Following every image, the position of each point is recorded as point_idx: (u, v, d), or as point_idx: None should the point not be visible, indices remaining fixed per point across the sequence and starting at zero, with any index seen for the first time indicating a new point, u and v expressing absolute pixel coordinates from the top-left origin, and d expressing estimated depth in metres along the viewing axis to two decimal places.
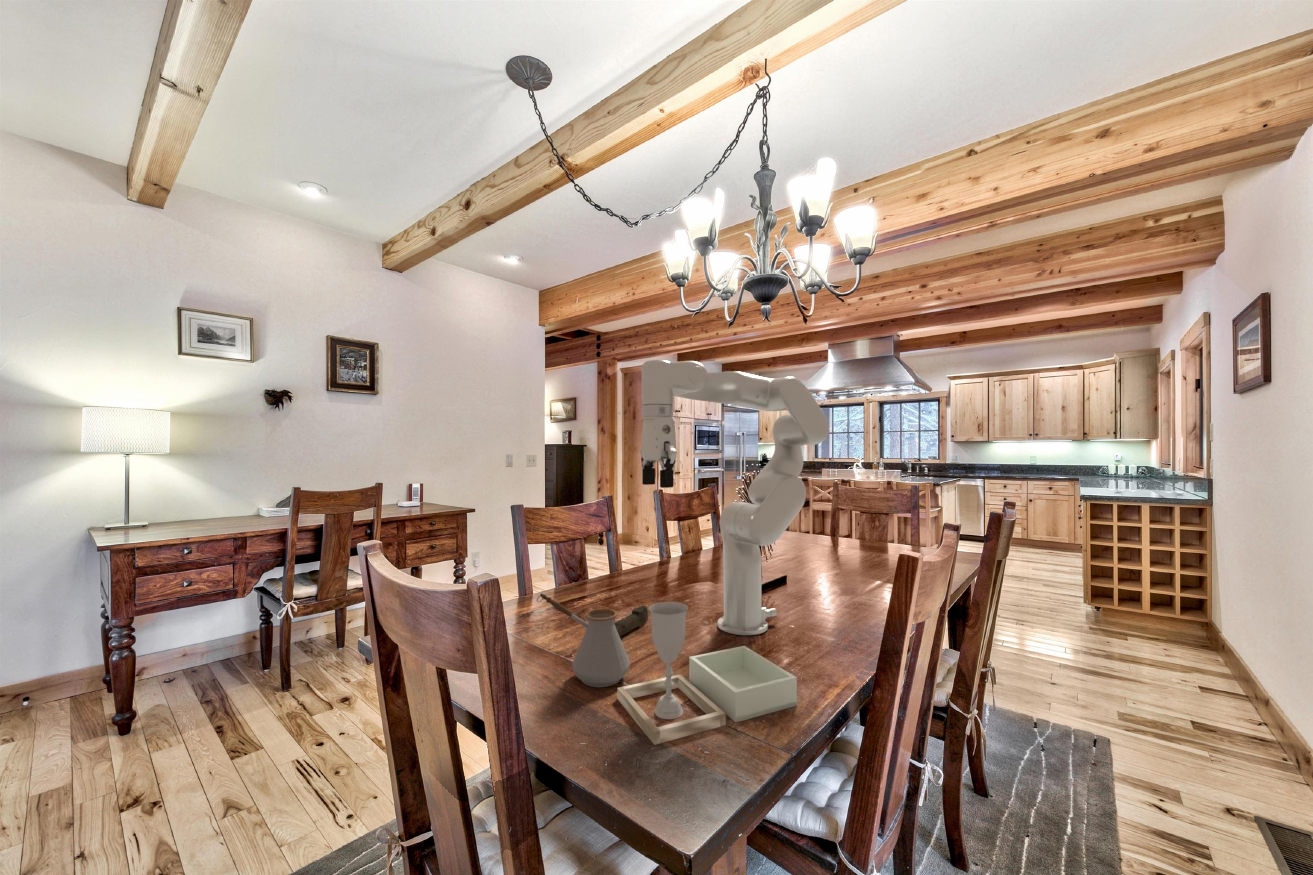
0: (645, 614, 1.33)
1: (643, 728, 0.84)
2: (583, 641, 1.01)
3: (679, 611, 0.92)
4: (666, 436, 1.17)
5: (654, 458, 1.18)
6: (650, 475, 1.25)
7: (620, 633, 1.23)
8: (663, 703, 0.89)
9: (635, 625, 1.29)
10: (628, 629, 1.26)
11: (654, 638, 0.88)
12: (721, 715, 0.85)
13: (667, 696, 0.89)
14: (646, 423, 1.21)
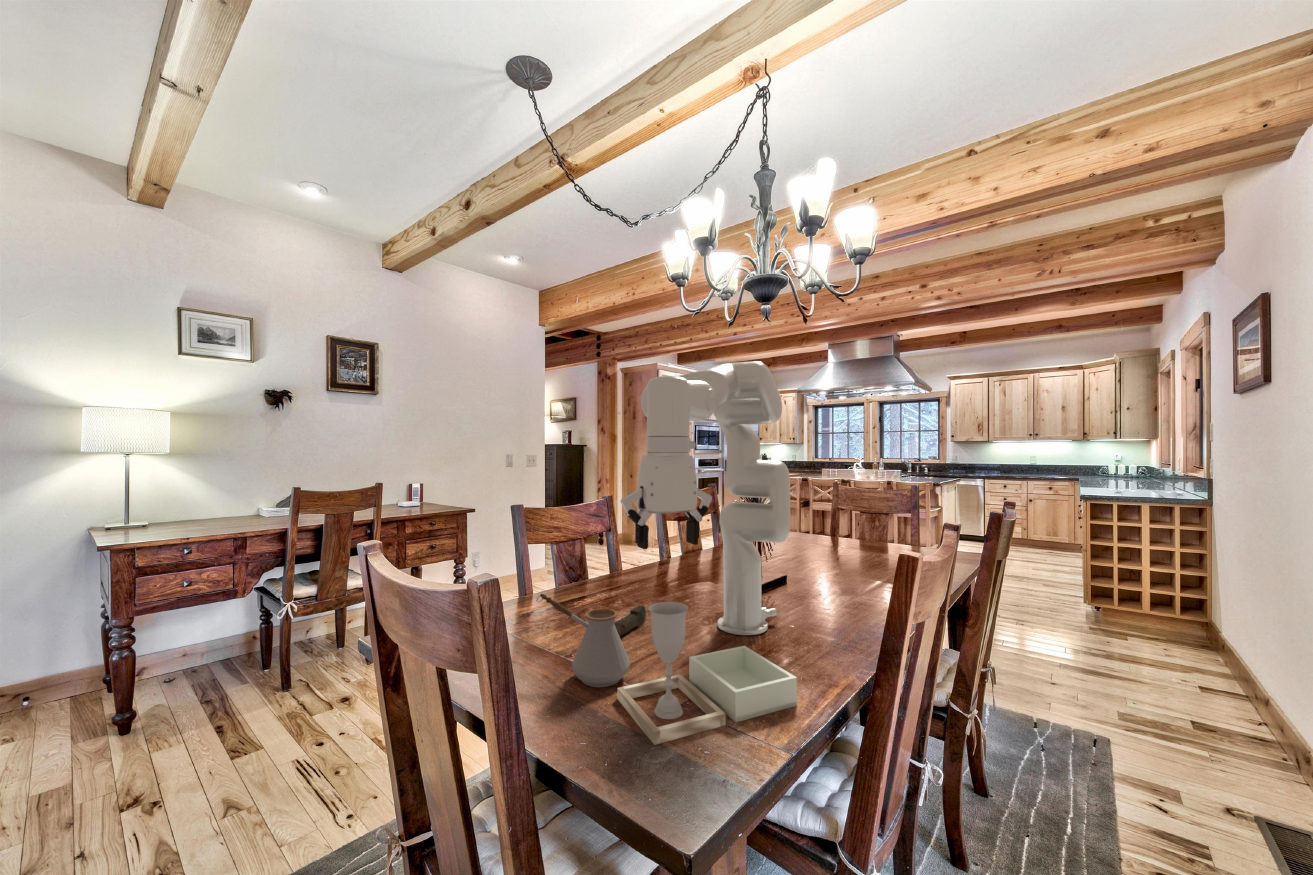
0: (643, 614, 1.34)
1: (643, 728, 0.84)
2: (583, 641, 1.01)
3: (679, 611, 0.92)
4: None
5: (687, 508, 0.89)
6: None
7: (620, 633, 1.23)
8: (663, 703, 0.89)
9: (634, 625, 1.29)
10: (627, 629, 1.26)
11: (654, 638, 0.88)
12: (721, 715, 0.85)
13: (667, 696, 0.89)
14: (670, 462, 0.88)
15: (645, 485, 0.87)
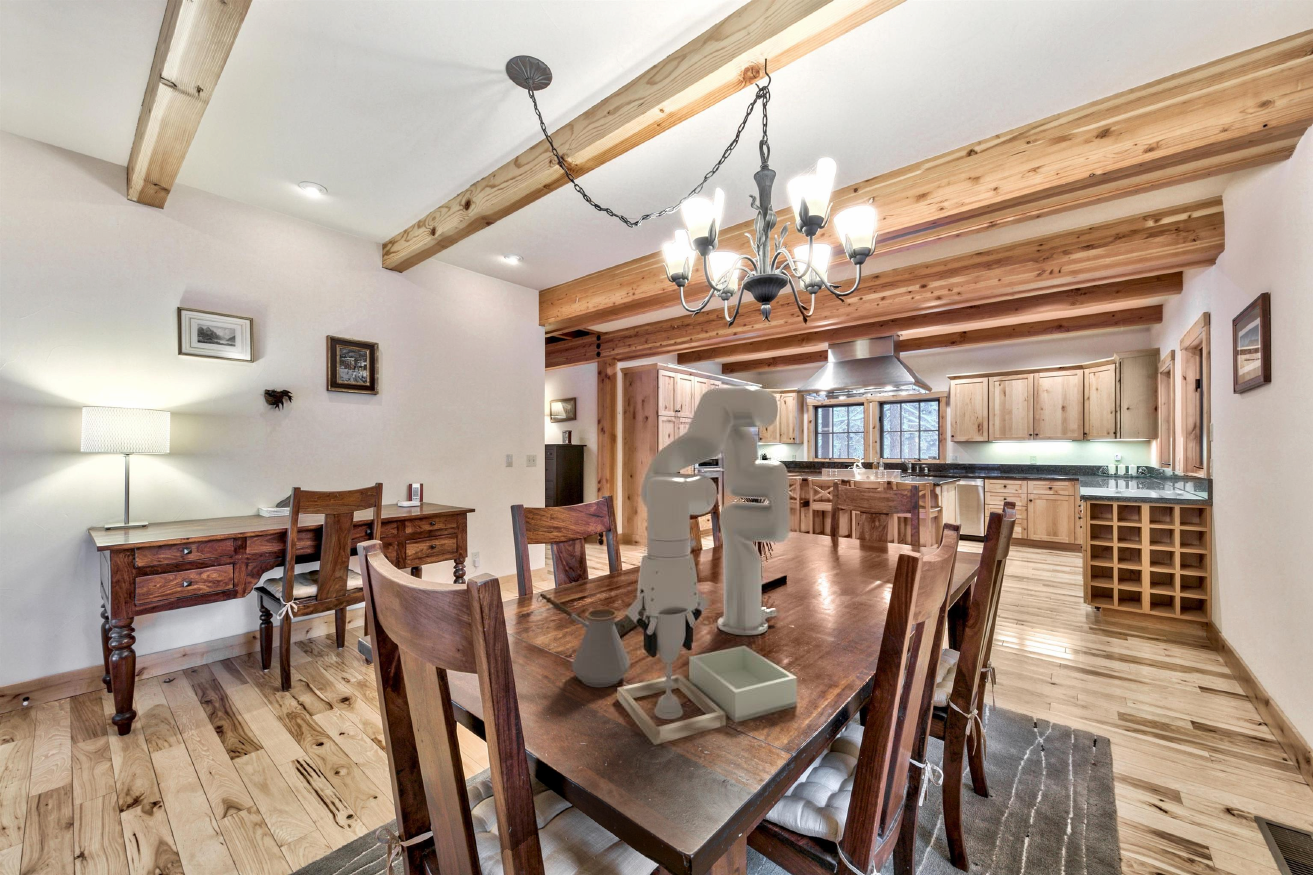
0: (641, 613, 1.34)
1: (643, 728, 0.84)
2: (583, 641, 1.01)
3: None
4: None
5: (687, 609, 0.89)
6: None
7: (620, 633, 1.23)
8: (663, 703, 0.89)
9: (633, 625, 1.29)
10: (627, 629, 1.26)
11: None
12: (721, 715, 0.85)
13: (667, 696, 0.89)
14: (671, 565, 0.88)
15: (645, 590, 0.87)
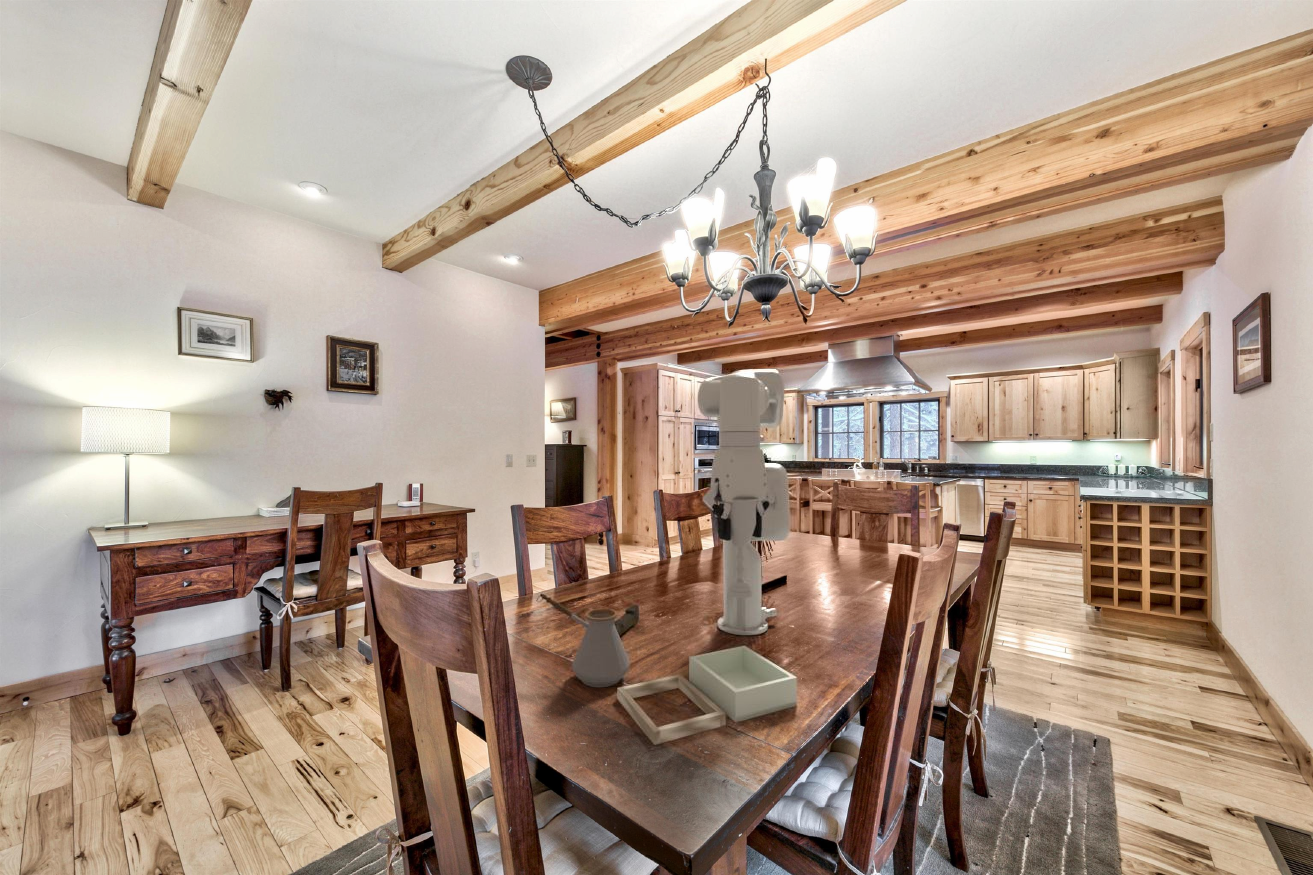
0: (637, 613, 1.35)
1: (643, 728, 0.84)
2: (583, 641, 1.01)
3: None
4: None
5: (758, 498, 0.96)
6: None
7: (619, 633, 1.23)
8: (736, 584, 0.95)
9: (630, 624, 1.30)
10: (625, 628, 1.27)
11: None
12: (721, 715, 0.85)
13: (740, 579, 0.96)
14: (744, 455, 0.94)
15: (721, 477, 0.93)
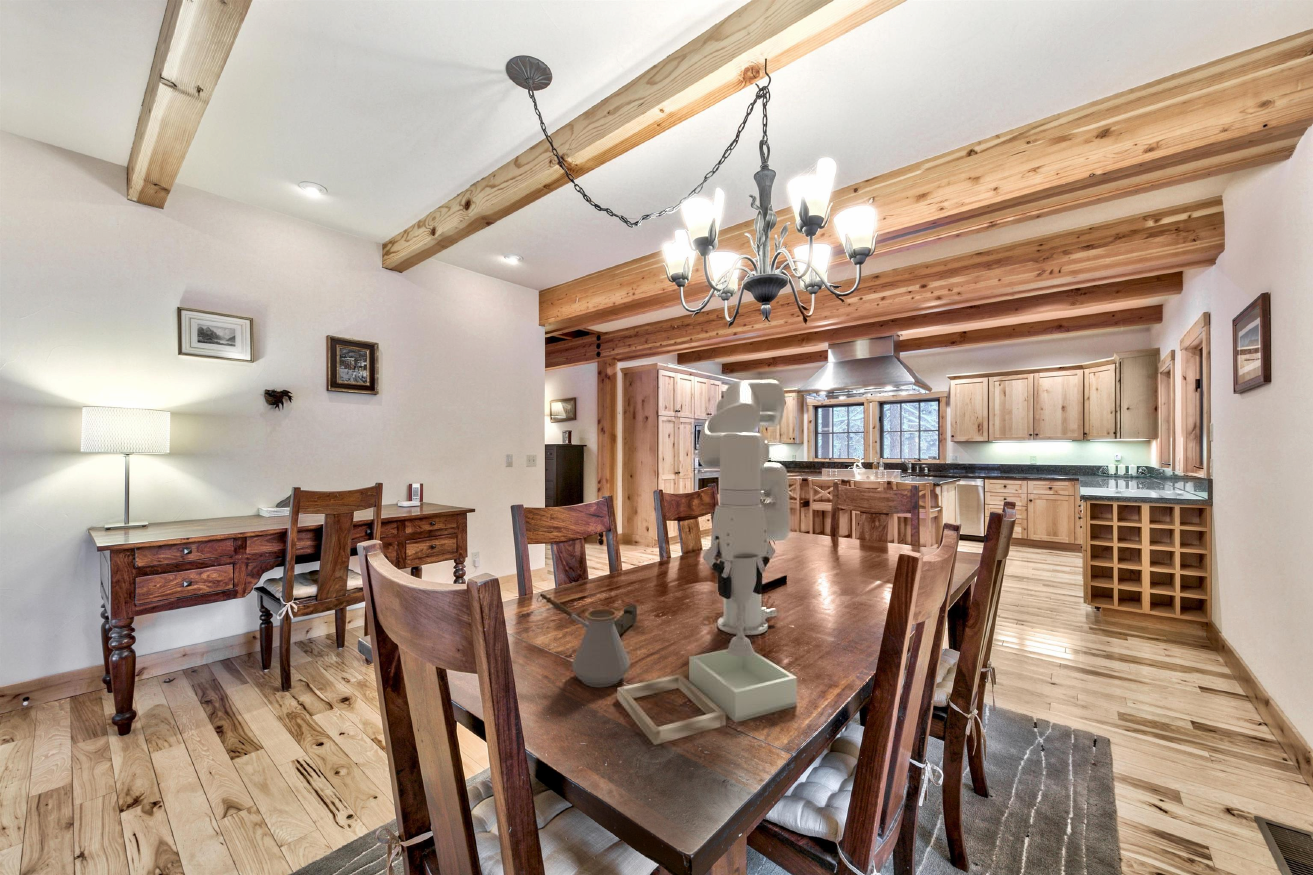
0: (635, 613, 1.35)
1: (643, 728, 0.84)
2: (583, 641, 1.01)
3: None
4: None
5: (758, 555, 0.96)
6: None
7: (619, 632, 1.23)
8: (736, 642, 0.95)
9: (629, 624, 1.30)
10: (625, 628, 1.27)
11: None
12: (721, 715, 0.85)
13: (740, 636, 0.96)
14: (744, 513, 0.94)
15: (721, 536, 0.93)
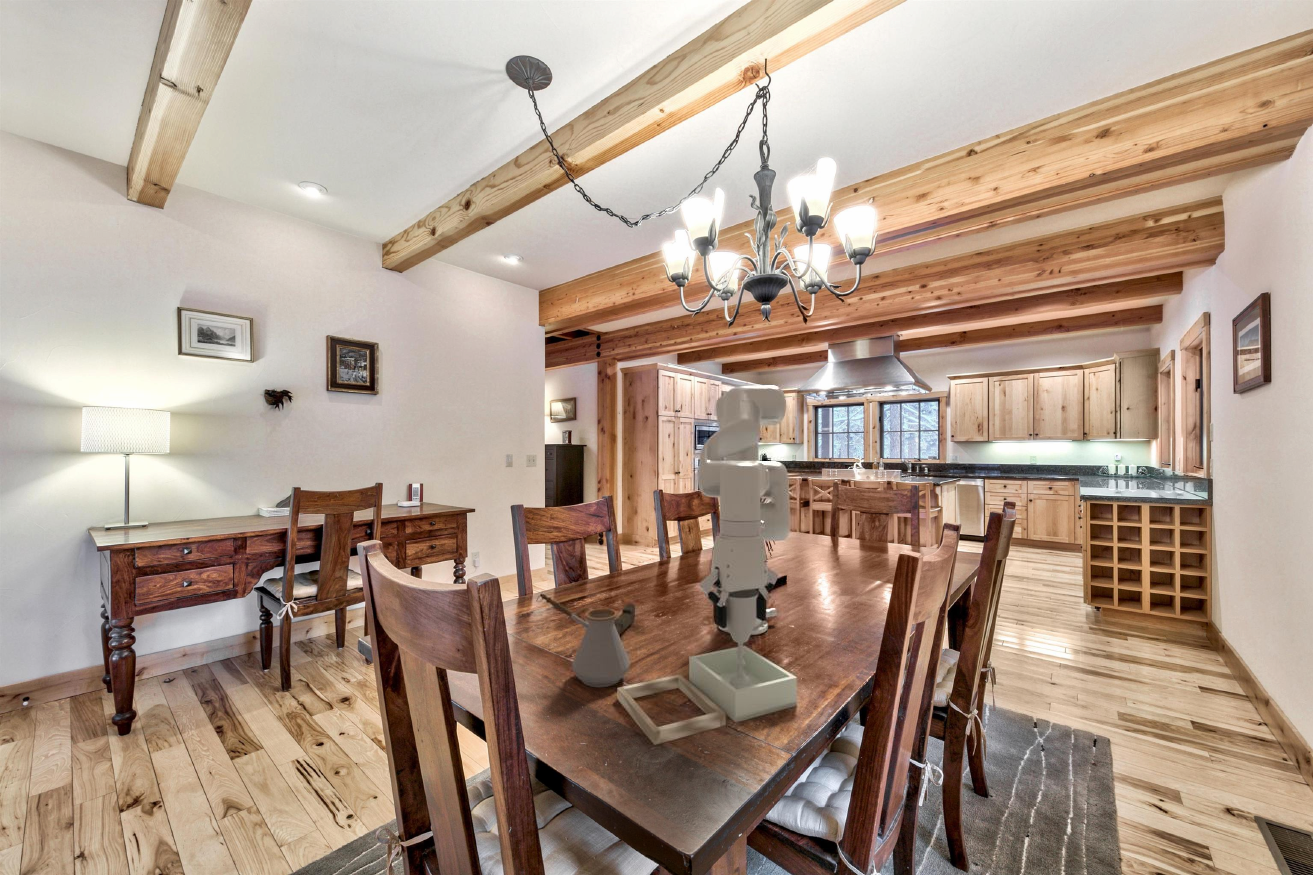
0: (634, 612, 1.35)
1: (643, 728, 0.84)
2: (583, 641, 1.01)
3: (748, 595, 0.99)
4: None
5: (758, 586, 0.96)
6: None
7: (619, 632, 1.23)
8: (736, 680, 0.95)
9: (628, 624, 1.30)
10: (624, 628, 1.27)
11: (728, 620, 0.95)
12: (721, 715, 0.85)
13: (740, 674, 0.96)
14: (744, 544, 0.94)
15: (721, 567, 0.93)
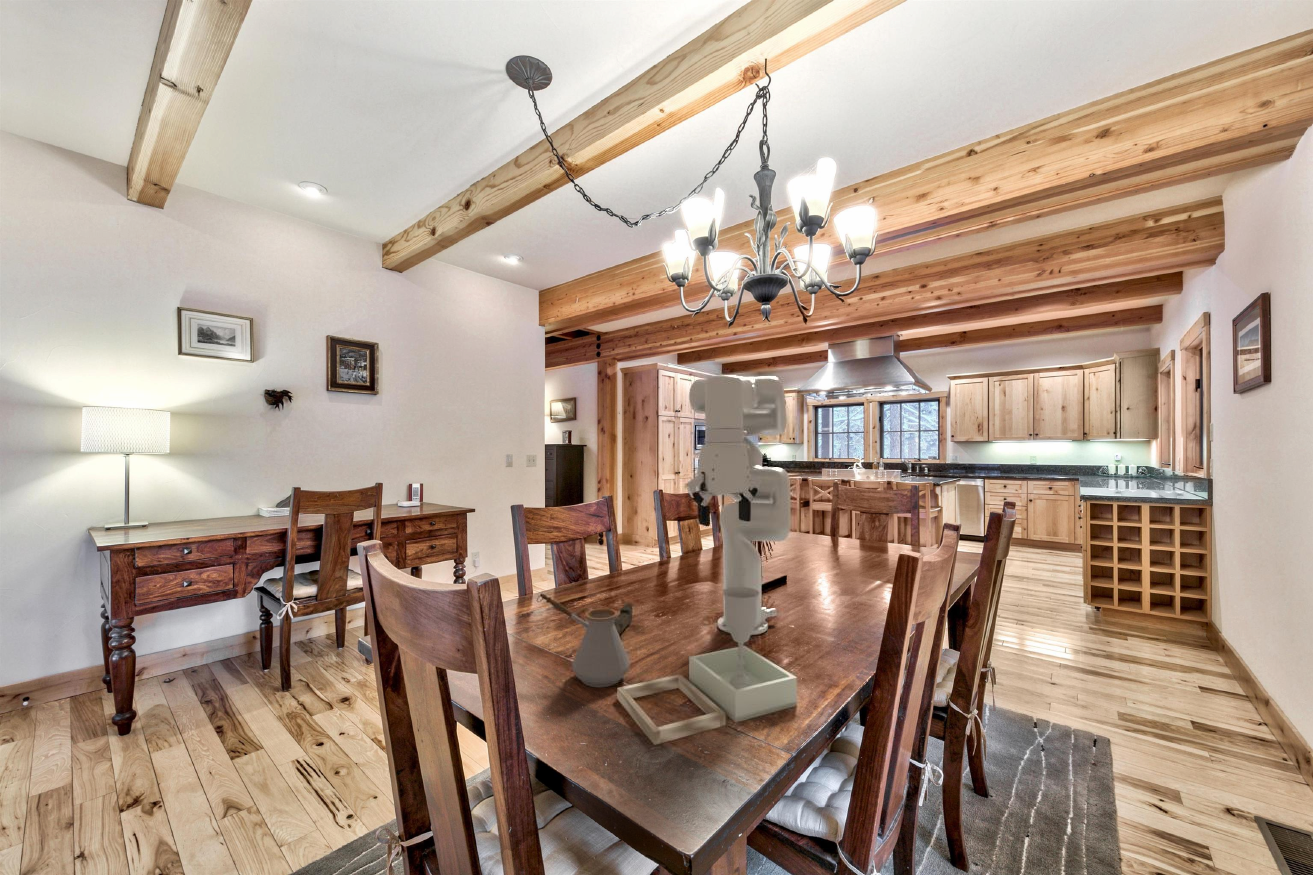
0: (631, 612, 1.35)
1: (643, 728, 0.84)
2: (583, 641, 1.01)
3: (749, 595, 0.99)
4: None
5: (741, 490, 1.03)
6: None
7: (619, 632, 1.23)
8: (736, 680, 0.95)
9: (627, 623, 1.30)
10: (623, 628, 1.27)
11: (729, 620, 0.95)
12: (721, 715, 0.85)
13: (740, 674, 0.96)
14: (728, 450, 1.01)
15: (706, 471, 1.00)
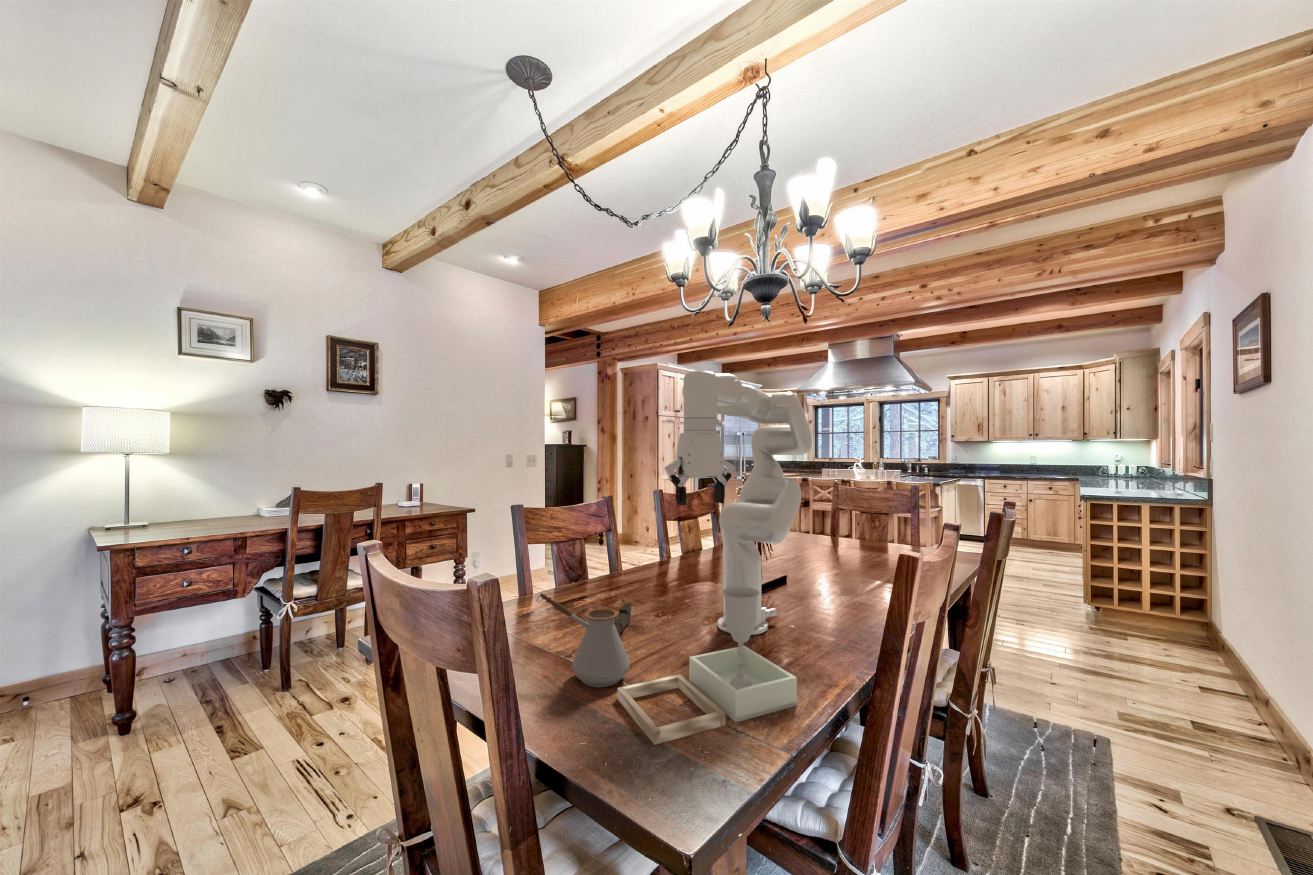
0: (630, 612, 1.35)
1: (643, 728, 0.84)
2: (583, 641, 1.01)
3: (749, 595, 0.99)
4: None
5: (715, 474, 1.14)
6: None
7: (619, 632, 1.23)
8: (736, 680, 0.95)
9: (626, 623, 1.30)
10: (622, 628, 1.27)
11: (729, 620, 0.95)
12: (721, 715, 0.85)
13: (740, 674, 0.96)
14: (703, 438, 1.12)
15: (683, 456, 1.12)
